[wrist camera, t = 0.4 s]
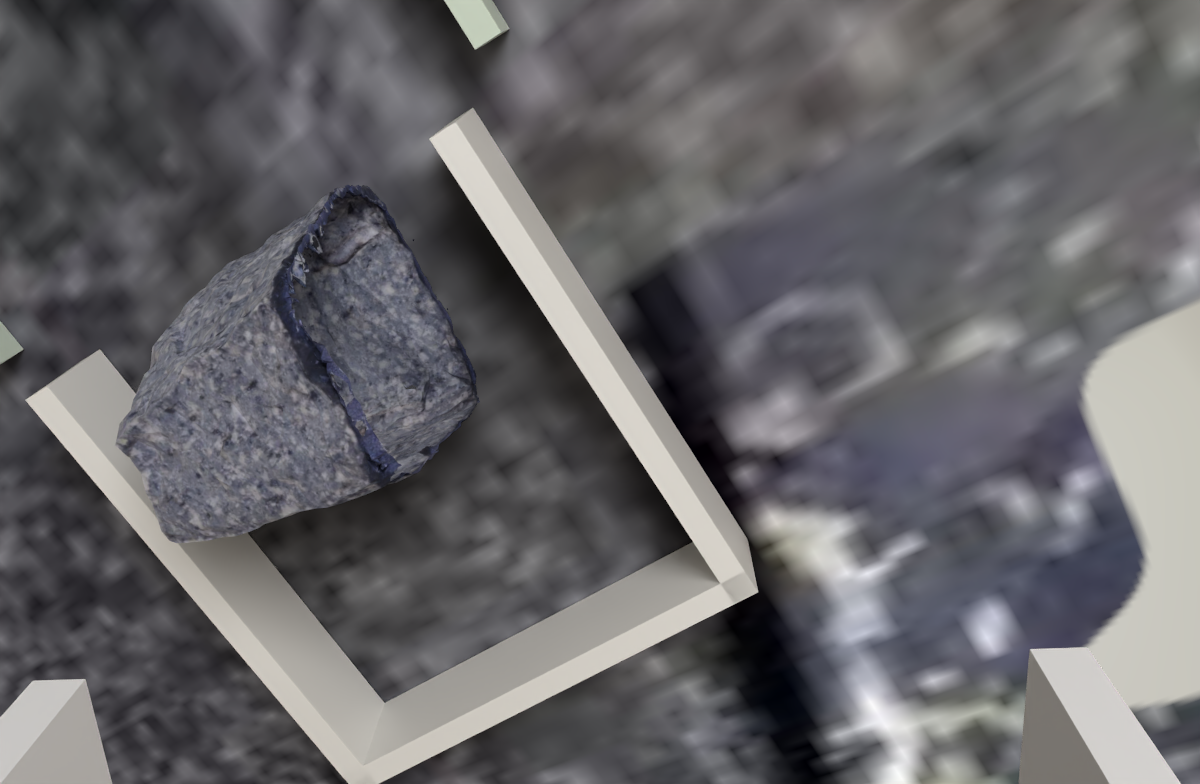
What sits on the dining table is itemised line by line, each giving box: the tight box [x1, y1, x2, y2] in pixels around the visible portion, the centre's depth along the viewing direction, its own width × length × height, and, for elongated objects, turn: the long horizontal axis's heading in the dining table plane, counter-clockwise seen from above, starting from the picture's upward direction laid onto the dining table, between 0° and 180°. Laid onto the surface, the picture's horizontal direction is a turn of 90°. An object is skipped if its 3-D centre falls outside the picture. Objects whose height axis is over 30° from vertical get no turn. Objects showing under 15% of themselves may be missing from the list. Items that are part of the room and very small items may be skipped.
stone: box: [115, 185, 480, 543], centre depth 37 cm, size 12×10×10 cm
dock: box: [26, 108, 758, 784], centre depth 41 cm, size 20×18×4 cm
